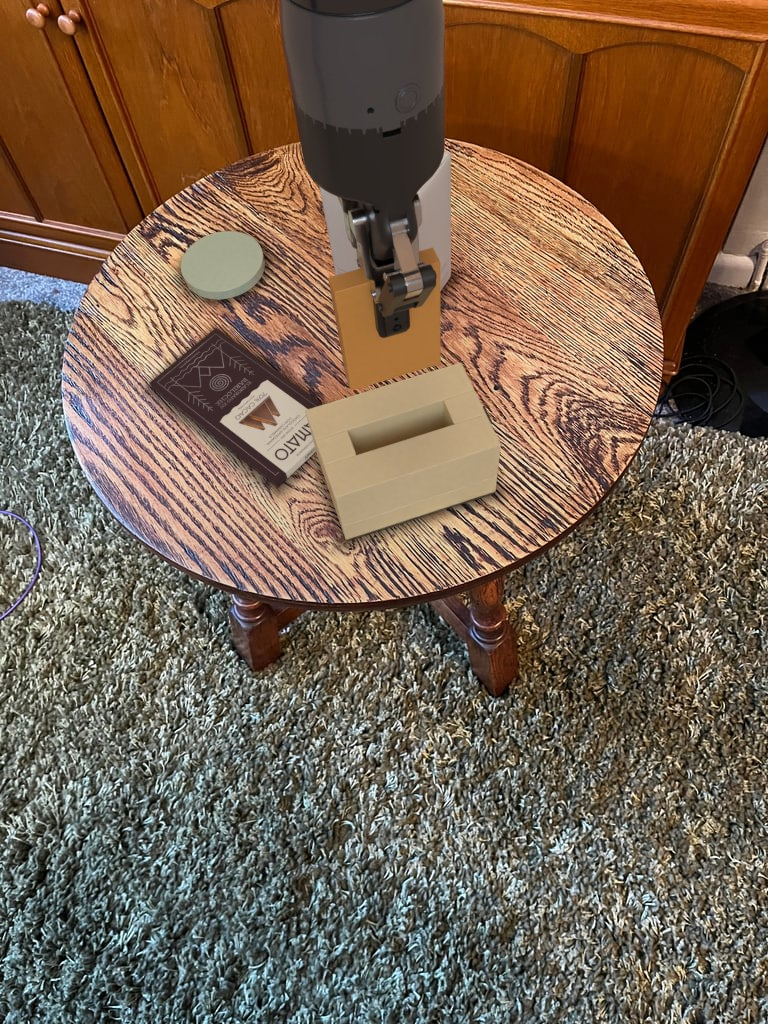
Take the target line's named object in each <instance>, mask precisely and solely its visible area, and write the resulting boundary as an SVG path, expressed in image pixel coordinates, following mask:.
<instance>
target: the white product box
mask: <svg viewBox="0 0 768 1024" xmlns="http://www.w3.org/2000/svg"><path fill="white" fill-rule="evenodd" d="M318 188H319V192H320V197H321V202H322V208H323V214H324V219H325V224H326V231H327V236H328V241H329V247H330V252H331V257H332V258H331V259H332V263H333V269H334V274H335V275H334V276H336V275H339V274H343V273H346V272H350V271H353V270H357V269H360V267H358V265H357V261H356V259H357V252H356V249H354V248H353V247H352V245H351V242H350V241H349V239H348V235H347V233H346V227H345V220H344V212H343V209H342V207H341V204H340V202H339V200H338V197H337V196H335V195H333V194H331V193H329V192H327V191H325V190H324V189H322V188H321V187H320V186H319V185H318ZM417 194H418V196H419V198H420V202H421V209H422V223H421V225H420V226H419V228H418V236H419V251H422V250H426V249H429V248H434V250H435V252H436V254H437V256H438V258H439V260H440V292H442V290H443V288H444V287H445V285H446V284H447V283H448V281H449V280H450V278H451V277H452V153H451V151H446V150H444V155H443V159H442V161H441V164H440V166H439V168H438V169H437V171H436V172H435V174H434V175H433V176H432V177H431V178H430V179H429V180H428V181H427V182H426V183H425V184H424V185H423V186H422V187H421V189H420V190H419V191H418V192H417Z"/></svg>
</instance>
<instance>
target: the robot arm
mask: <svg viewBox="0 0 768 1024" xmlns="http://www.w3.org/2000/svg"><path fill="white" fill-rule="evenodd" d="M278 1H279V4H278V5H279V23H280V24H279V25H280V36H281V43H282V49H283V55H284V61H285V65H286V72H287V76H288V83H289V88H290V93H291V99H292V105H293V110H294V115H295V121H296V127H297V133H298V137H299V138H298V139H299V143H300V149H301V154H302V159H303V165H304V167H305V171H306V172H307V173H308V174H307V175H309V176H310V178H311V179H312V181H313V182H314V183H315V184H316V185H317V186H318V187H319V186H320V187H321V188H322V189H324V190H325V191H327V192H329V193H331V194H333V195H335V196H337V197H338V200H339V202H340V204H341V207H342V209H343V212H344V220H345V227H346V233H347V235H348V239H349V241H350V242H351V245H352V247H353V248H354V249H356V252H357V259H356V261H357V265H358V267H360V268H362V270H363V272H364V274H365V277H366V278H367V279H369V280H370V287H371V291H370V295H371V298H372V299H373V305H374V314H375V323H376V329H377V332H378V334H379V336H380V337H381V338H386V337H390V336H393V335H396V334H400V333H403V332H406V331H407V330H408V329H409V328H410V313H409V309H411V308H417V307H421V306H422V305H423V304H424V303H425V301H426V300H427V298H428V297H429V295H430V294H431V292H432V291H433V289H434V288H435V287H436V279H437V275H436V272H435V270H434V269H433V267H432V265H431V264H429V265H426V264H425V262H420V263H419V261H420V258H419V236H418V228H419V226H420V225H421V223H422V209H421V202H420V198H419V196H418V194H417V192H418V191H419V190H420V189H421V187H422V186H423V185H424V184H425V183H426V182H427V181H428V180H429V179H430V178H431V177H432V176H433V175H434V174H435V172H436V171H437V169H438V168H439V166H440V164H441V161H442V159H443V155H444V151H446V150H445V149H446V148H445V147H446V146H445V145H446V21H445V20H446V19H445V7H444V0H278ZM383 277H384V280H383V281H381V280H382V278H383Z"/></svg>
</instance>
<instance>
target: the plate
mask: <svg viewBox="0 0 768 1024" xmlns="http://www.w3.org/2000/svg"><path fill="white" fill-rule="evenodd" d="M264 255H265V254H264V252H263V249H262V247H261V245H260V243H259V242H258V241H257V239H255V238H254V237H252V236H250V235H249V234H247V233H244V232H241V231H235V230H225V231H217V232H213V233H209V234H207V235H204V236H202V237H201V238H199V239H197V240H196V241H194V242H193V243H192V244H191V245H190V246H189V247H188V248H187V249H186V251H185V252H184V254H183V256H182V258H181V261H180V271H181V275H182V277H183V280H184V282H185V284H186V286H187V288H188V289H189V290H190V291H191V292H192V293H194V294H195V295H197V296H199V297H202V298H205V299H209V300H226V299H227V300H228V299H232V298H235V297H239V296H241V295H243V294H245V293H246V292H249V291H250V290H251V289H253V288H254V287H255V286H256V285H257V284H258V283H259V282H260V280H261V278H262V277H263V275H264V272H265V269H266V260H265V256H264Z"/></svg>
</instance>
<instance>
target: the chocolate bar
mask: <svg viewBox="0 0 768 1024" xmlns="http://www.w3.org/2000/svg"><path fill="white" fill-rule="evenodd" d="M149 385H150V387H151V389H152V390H153V391H155V393H157V394H158V395H159V396H161V397H162V398H163V399H164V400H166V401H167V402H168V403H170V404H171V405H172V406H173V407H175V409H177V410H178V411H179V412H181V413H182V414H183V415H185V416H186V417H187V418H189V419H190V420H192V422H193V423H195V424H196V425H197V426H199V427H200V429H202V430H204V431H205V432H206V433H207V434H208V435H210V436H212V438H213V439H215V440H216V441H217V442H219V443H220V444H221V445H223V447H225V448H226V449H228V450H229V452H231V453H233V454H234V455H235V456H237V457H238V458H239V459H240V460H242V461H243V463H245V464H246V465H247V466H249V467H250V468H251V469H252V470H254V471H256V472H257V474H259V475H260V476H261V477H262V478H264V479H265V480H267V481H268V482H269V483H271V484H272V485H273V486H274V487H275V488H276V489H278V488H279V487H280V486H282V484H283V483H285V482H286V481H287V480H288V479H289V478H290V477H291V476H292V475H293V474H294V473H295V472H296V471H297V470H298V469H299V468H300V467H301V466H302V465H304V464H305V463H306V462H307V461H308V460H309V459H310V458H311V457H312V456H313V455H314V454H315V453H316V449H315V445H314V442H313V438H312V435H311V431H310V427H309V424H308V420H307V416H306V413H305V410H308V409H311V408H314V407H317V406H321V405H324V404H323V403H322V402H321V401H319V400H318V399H316V398H315V397H313V396H312V395H311V394H310V393H308V392H306V391H305V390H303V388H301V387H300V386H298V385H297V384H295V383H293V381H291V380H290V379H288V378H287V377H285V376H284V375H283V374H281V373H280V372H278V371H277V370H276V369H274V367H272V366H270V365H268V363H266V362H265V361H263V359H260V358H259V357H257V356H256V355H255V354H253V353H252V352H251V351H249V350H248V349H246V348H245V347H244V346H242V345H241V344H239V342H236V341H235V340H234V339H232V338H231V337H230V336H228V335H226V334H225V333H224V332H223V331H221V330H220V329H218V328H217V327H215V328H214V329H212V330H211V331H210V332H209V333H207V335H205V336H204V337H202V338H201V339H200V340H199V341H198V342H197V343H195V344H194V345H193V346H192V347H190V349H187V351H186V352H185V353H183V354H182V355H181V356H180V357H179V358H177V359H176V360H175V361H174V362H173V363H171V364H170V365H169V366H168V367H167V368H165V369H164V370H163V371H162V372H161V373H159V374H158V375H157V376H156V377H154V378H153V379H152V380H150V382H149Z"/></svg>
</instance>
